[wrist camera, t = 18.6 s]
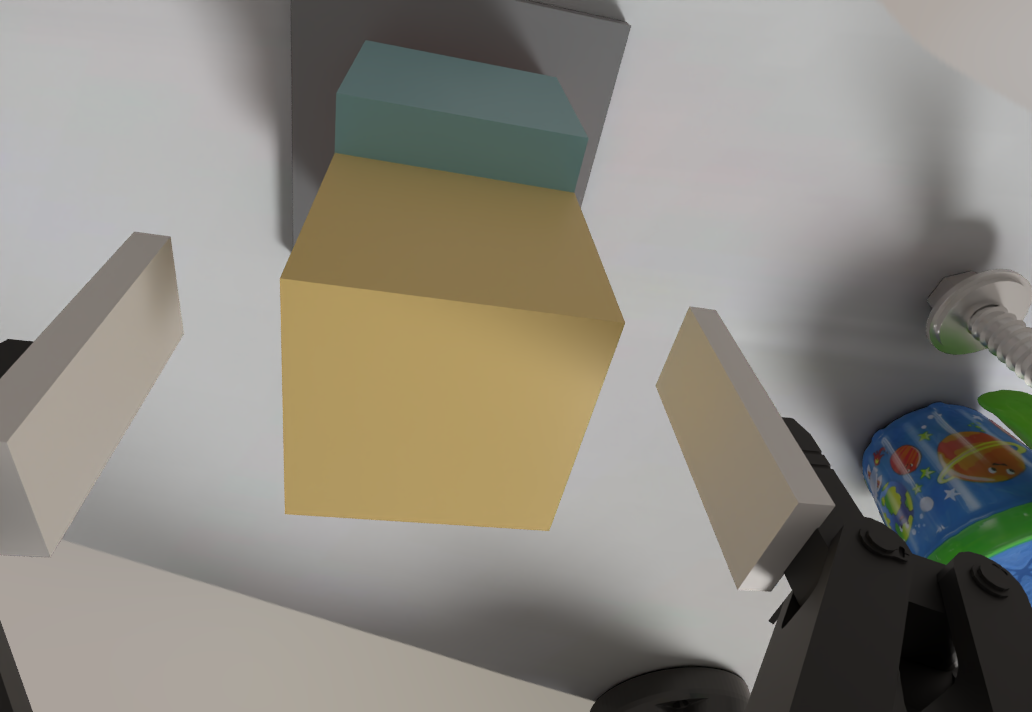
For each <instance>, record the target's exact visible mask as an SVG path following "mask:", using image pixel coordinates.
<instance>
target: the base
mask: <svg viewBox="0 0 1032 712" xmlns="http://www.w3.org/2000/svg"><path fill="white" fill-rule="evenodd" d="M630 28H631V25H629V24H628V23H627V22H624V21H619V20H615V19H610V18H606V17H601V16H597V15H592V14H588V13H583V12H578V11H574V10H569V9H565V8H560V7H556V6H551V5H546V4H542V3H537V2H533V1H528V0H291V73H292V178H293V247H294V245H295V243H296V241H297V238H298V236H299V234H300V231H301V229H302V227H303V225H304V222H305V220H306V218H307V215H308V213H309V211H310V209H311V206H312V204H313V202H314V199H315V197H316V195H317V193H318V190H319V188H320V186H321V183H322V181H323V179H324V177H325V174H326V172H327V170H328V167H329V165H330V163H331V160H332V158H333V156H334V154H335V121H336V93H337V91H338V89H339V87H340V85H341V84H342V82H343V80H344V78H345V76H346V75H347V73H348V71H349V69H350V67H351V66H352V64H353V62H354V60H355V58H356V56H357V55H358V53H359V51H360V49H361V47H362V46H363V44H364V42H365V40H368V41H373V42H378V43H383V44H389V45H394V46H399V47H404V48H409V49H414V50H419V51H424V52H429V53H435V54H440V55H445V56H450V57H455V58H460V59H465V60H470V61H475V62H481V63H486V64H491V65H496V66H501V67H506V68H511V69H516V70H522V71H527V72H532V73H537V74H542V75H547V76H552V77H557V79H558V81H559V83H560V85H561V87H562V89H563V90H564V92H565V94H566V96H567V98H568V100H569V102H570V104H571V106H572V108H573V109H574V111H575V113H576V115H577V117H578V119H579V121H580V123H581V125H582V127H583V128H584V130H585V132H586V134H587V136H588V138H589V139H588V143H587V146H586V150H585V154H584V158H583V161H582V165H581V169H580V173H579V177H578V180H577V184H576V188H575V192H574V193H575V195H576V198H577V201H578V203H579V206H580V208H581V205H582V201H583V198H584V194H585V190H586V187H587V183H588V180H589V176H590V172H591V169H592V165H593V162H594V158H595V154H596V151H597V147H598V143H599V140H600V136H601V133H602V129H603V125H604V122H605V118H606V115H607V111H608V107H609V104H610V100H611V96H612V93H613V89H614V86H615V82H616V78H617V75H618V71H619V68H620V64H621V60H622V57H623V53H624V49H625V46H626V42H627V39H628V35H629V31H630Z"/></svg>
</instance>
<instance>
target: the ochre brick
mask: <svg viewBox="0 0 1032 712" xmlns="http://www.w3.org/2000/svg"><path fill="white" fill-rule="evenodd" d="M280 301H281V348H282V395H283V443H284V490H285V514H292V515H308V516H324V517H339V518H355V519H371V520H386V521H402V522H418V523H433V524H449V525H465V526H481V527H496V528H512V529H528V530H543V531H549V530H550V527H551V525H552V522H553V519H554V516H555V514H556V511H557V508H558V505H559V503H560V500H561V497H562V495H563V492H564V489H565V486H566V484H567V481H568V478H569V475H570V473H571V470H572V467H573V464H574V462H575V459H576V456H577V453H578V451H579V448H580V445H581V442H582V440H583V437H584V434H585V432H586V429H587V426H588V423H589V421H590V418H591V415H592V412H593V410H594V407H595V404H596V401H597V399H598V396H599V393H600V390H601V388H602V385H603V382H604V379H605V377H606V374H607V371H608V368H609V366H610V363H611V360H612V358H613V355H614V352H615V349H616V347H617V344H618V341H619V338H620V336H621V333H622V330H623V327H624V325H625V321H624V319H623V316H622V314H621V311H620V309H619V306H618V303H617V301H616V298H615V296H614V293H613V291H612V288H611V285H610V283H609V280H608V278H607V275H606V273H605V270H604V267H603V265H602V262H601V260H600V257H599V255H598V252H597V249H596V247H595V244H594V242H593V239H592V237H591V234H590V231H589V229H588V226H587V224H586V221H585V219H584V216H583V213H582V211H581V208H580V206H579V203H578V201H577V198H576V195H575V193H573V192H567V191H561V190H555V189H549V188H543V187H537V186H531V185H525V184H519V183H513V182H507V181H501V180H495V179H489V178H483V177H477V176H471V175H465V174H459V173H453V172H447V171H441V170H435V169H429V168H423V167H417V166H411V165H405V164H399V163H393V162H387V161H381V160H375V159H369V158H363V157H357V156H351V155H345V154H339V153H335V154H334V156H333V158H332V160H331V163H330V165H329V167H328V170H327V172H326V174H325V177H324V179H323V181H322V183H321V186H320V188H319V190H318V193H317V195H316V197H315V199H314V202H313V204H312V206H311V209H310V211H309V213H308V215H307V218H306V220H305V222H304V225H303V227H302V229H301V231H300V234H299V236H298V238H297V241H296V243H295V245H294V247H293V250H292V252H291V254H290V257H289V259H288V261H287V264H286V266H285V268H284V270H283V273H282V275H281V277H280Z"/></svg>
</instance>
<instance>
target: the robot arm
mask: <svg viewBox="0 0 1032 712" xmlns="http://www.w3.org/2000/svg"><path fill="white" fill-rule="evenodd" d="M183 335H184V333H183V326H182V318H181V311H180V303H179V296H178V289H177V281H176V274H175V266H174V259H173V251H172V244H171V237H170V236H162V235H155V234H147V233H140V232H133V234H132V235H131V236H130V237H129V238H128V239H127V240H126V241H125V242H124V243H123V245H122V246H121V247H120V248H119V249H118V250H117V251H116V252H115V253H114V254H113V255H112V257H111V258H110V259H109V260H108V261H107V262H106V263H105V264H104V265H103V266H102V268H101V269H100V270H99V271H98V272H97V273H96V274H95V275H94V276H93V277H92V279H91V280H90V281H89V282H88V283H87V284H86V285H85V286H84V287H83V288H82V290H81V291H80V292H79V293H78V294H77V295H76V296H75V297H74V298H73V299H72V300H71V302H70V303H69V304H68V305H67V306H66V307H65V308H64V309H63V310H62V311H61V313H60V314H59V315H58V316H57V317H56V318H55V319H54V320H53V321H52V322H51V324H50V325H49V326H48V327H47V328H46V329H45V330H44V331H43V332H42V333H41V334H40V336H39V337H38V338H37V339H36V340H35V341H34V342H32V341H22V340H13V339H8V340H6V341H4V342H2V343H0V555H10V556H30V557H51V556H52V554H53V553H54V551H55V549H56V548H57V546H58V544H59V543H60V541H61V539H62V538H63V536H64V534H65V533H66V531H67V529H68V528H69V526H70V524H71V523H72V521H73V519H74V517H75V516H76V514H77V512H78V511H79V509H80V507H81V506H82V504H83V502H84V501H85V499H86V497H87V496H88V494H89V492H90V491H91V489H92V487H93V486H94V484H95V482H96V481H97V479H98V477H99V476H100V474H101V472H102V470H103V469H104V467H105V465H106V464H107V462H108V460H109V459H110V457H111V455H112V454H113V452H114V450H115V449H116V447H117V445H118V444H119V442H120V440H121V439H122V437H123V435H124V434H125V432H126V430H127V429H128V427H129V425H130V423H131V422H132V420H133V418H134V417H135V415H136V413H137V412H138V410H139V408H140V407H141V405H142V403H143V402H144V400H145V398H146V397H147V395H148V393H149V392H150V390H151V388H152V387H153V385H154V383H155V382H156V380H157V378H158V376H159V375H160V373H161V371H162V370H163V368H164V366H165V365H166V363H167V361H168V360H169V358H170V356H171V355H172V353H173V351H174V350H175V348H176V346H177V345H178V343H179V341H180V340H181V338H182V336H183ZM656 388H657V390H658V393H659V395H660V398H661V400H662V403H663V405H664V408H665V410H666V413H667V415H668V418H669V420H670V423H671V425H672V428H673V430H674V433H675V435H676V438H677V440H678V443H679V445H680V448H681V450H682V452H683V455H684V457H685V460H686V462H687V465H688V467H689V470H690V472H691V475H692V477H693V480H694V482H695V485H696V487H697V490H698V492H699V495H700V497H701V500H702V502H703V505H704V507H705V510H706V512H707V515H708V517H709V520H710V522H711V525H712V527H713V530H714V532H715V535H716V537H717V540H718V542H719V545H720V547H721V550H722V552H723V555H724V557H725V560H726V562H727V565H728V567H729V570H730V572H731V575H732V577H733V580H734V582H735V585H736V587H737V590H749V591H772V590H773V588H774V587H775V586H776V584H777V583H778V582H779V580H780V579H781V578H782V576H783V575H784V574H785V576H786V578H787V580H788V582H789V585H790V587H791V589H792V591H791V593H790V594H789V595H788V596H787V598H786V599H785V600H784V602H783V603H782V604H781V605H780V607H779V608H778V609H777V610H776V612H775V613H774V614H773V616H772V617H771V618H770V619H769V622H771V623H772V624H774V623H775V622H776V621H777V623H776V625H775V628H774V631H773V634H772V637H771V639H770V642H769V645H768V648H767V651H766V653H765V656H764V659H763V662H762V665H761V667H760V670H759V673H758V676H757V678H756V681H755V684H754V687H753V690H752V692H751V694H750V692H749V689H748V686H747V685H746V683H745V682H744V681H743V680H742V679H741V678H740V677H738V676H736V675H734V674H732V673H730V672H727V671H723V670H719V669H713V668H703V667H686V668H675V669H668V670H662V671H657V672H653V673H649V674H645V675H642V676H639V677H636V678H633V679H631V680H628V681H626V682H624V683H621V684H619V685H617V686H616V687H614V688H612V689H611V690H609V691H608V692H606V693H605V694H603V695H602V696H601V697H600V698H599V699H598V700H597V701H596V702H595V704H594V705H593V706H592V708H591V710H590V712H1032V607H1031V604H1030V602H1029V599H1028V596H1027V594H1026V593H1025V591H1024V589H1023V588H1022V586H1021V584H1020V583H1019V582H1018V581H1017V580H1016V579H1015V578H1014V577H1013V576H1012V574H1011V573H1010V572H1009V571H1007V570H1006V569H1005V568H1004V567H1002V566H1001V565H1000V564H998V563H996V562H995V561H993V560H991V559H989V558H987V557H985V556H983V555H981V554H977V553H973V552H969V551H968V552H959V553H958V554H957V555H956V556H955V557H954V558H953V559H952V560H951V561H950V562H949V563H948V564H947V565H945V564H942V563H939V562H936V561H933V560H930V559H927V558H924V557H921V556H918V555H915V554H912V552H911V551H910V549H909V547H908V546H907V544H906V542H905V541H904V540H903V539H902V538H901V537H900V536H899V535H898V534H897V533H896V532H895V531H893V530H892V529H890V528H889V527H887V526H886V525H884V524H883V523H881V522H878V521H876V520H874V519H871V518H867V517H864V516H863V515H862V513H861V512H860V510H859V509H858V507H857V506H856V504H855V502H854V501H853V499H852V498H851V496H850V495H849V493H848V492H847V490H846V489H845V487H844V485H843V484H842V482H841V481H840V479H839V478H838V476H837V475H836V473H835V472H834V470H833V469H830V466H831V465H830V464H829V462H828V461H827V459H826V458H825V456H824V455H821V452H822V451H821V450H820V448H819V447H818V445H817V444H816V442H815V441H814V439H813V437H812V436H811V434H809V433H808V432H807V431H806V430H805V429H804V428H803V427H802V426H801V425H800V424H798V423H797V422H796V421H795V420H794V419H793V418H784V417H781V416H780V414H779V412H778V411H777V409H776V408H775V406H774V404H773V403H772V401H771V399H770V398H769V396H768V394H767V393H766V391H765V390H764V388H763V386H762V385H761V383H760V381H759V380H758V378H757V376H756V375H755V373H754V372H753V370H752V368H751V367H750V365H749V363H748V362H747V360H746V359H745V357H744V355H743V354H742V352H741V350H740V349H739V347H738V345H737V344H736V342H735V341H734V339H733V337H732V336H731V334H730V332H729V331H728V329H727V327H726V326H725V324H724V323H723V321H722V319H721V318H720V316H719V314H718V313H717V311H716V310H711V309H704V308H696V307H689V309H688V311H687V313H686V316H685V318H684V320H683V323H682V325H681V328H680V330H679V332H678V335H677V337H676V339H675V342H674V344H673V346H672V349H671V351H670V353H669V356H668V358H667V360H666V363H665V365H664V367H663V370H662V372H661V374H660V377H659V379H658V381H657V384H656ZM0 712H33V711H32V709H31V705H30V703H29V700H28V697H27V694H26V692H25V689H24V686H23V683H22V680H21V677H20V675H19V672H18V669H17V666H16V663H15V661H14V658H13V655H12V652H11V649H10V646H9V644H8V641H7V638H6V635H5V633H4V630H3V627H2V624H1V621H0Z"/></svg>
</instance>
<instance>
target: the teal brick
mask: <svg viewBox="0 0 1032 712" xmlns="http://www.w3.org/2000/svg"><path fill="white" fill-rule="evenodd" d="M588 139H589V138H588V136H587V134H586V132H585V130H584V128H583V127H582V125H581V123H580V121H579V119H578V117H577V115H576V113H575V111H574V109H573V108H572V106H571V104H570V102H569V100H568V98H567V96H566V94H565V92H564V90H563V89H562V87H561V85H560V83H559V81H558V79H557V77H552V76H547V75H542V74H537V73H532V72H527V71H522V70H516V69H511V68H506V67H501V66H496V65H491V64H486V63H481V62H475V61H470V60H465V59H460V58H455V57H450V56H445V55H440V54H435V53H429V52H424V51H419V50H414V49H409V48H404V47H399V46H394V45H389V44H383V43H378V42H373V41H368V40H365V42H364V44H363V46H362V47H361V49H360V51H359V53H358V55H357V56H356V58H355V60H354V62H353V64H352V66H351V67H350V69H349V71H348V73H347V75H346V76H345V78H344V80H343V82H342V84H341V85H340V87H339V89H338V91H337V93H336V121H335V153H339V154H345V155H351V156H357V157H363V158H369V159H375V160H381V161H387V162H393V163H399V164H405V165H411V166H417V167H423V168H429V169H435V170H441V171H447V172H453V173H459V174H465V175H471V176H477V177H483V178H489V179H495V180H501V181H507V182H513V183H519V184H525V185H531V186H537V187H543V188H549V189H555V190H561V191H567V192H573V193H574V192H575V188H576V184H577V180H578V177H579V173H580V169H581V165H582V161H583V158H584V154H585V150H586V146H587V143H588Z"/></svg>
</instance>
